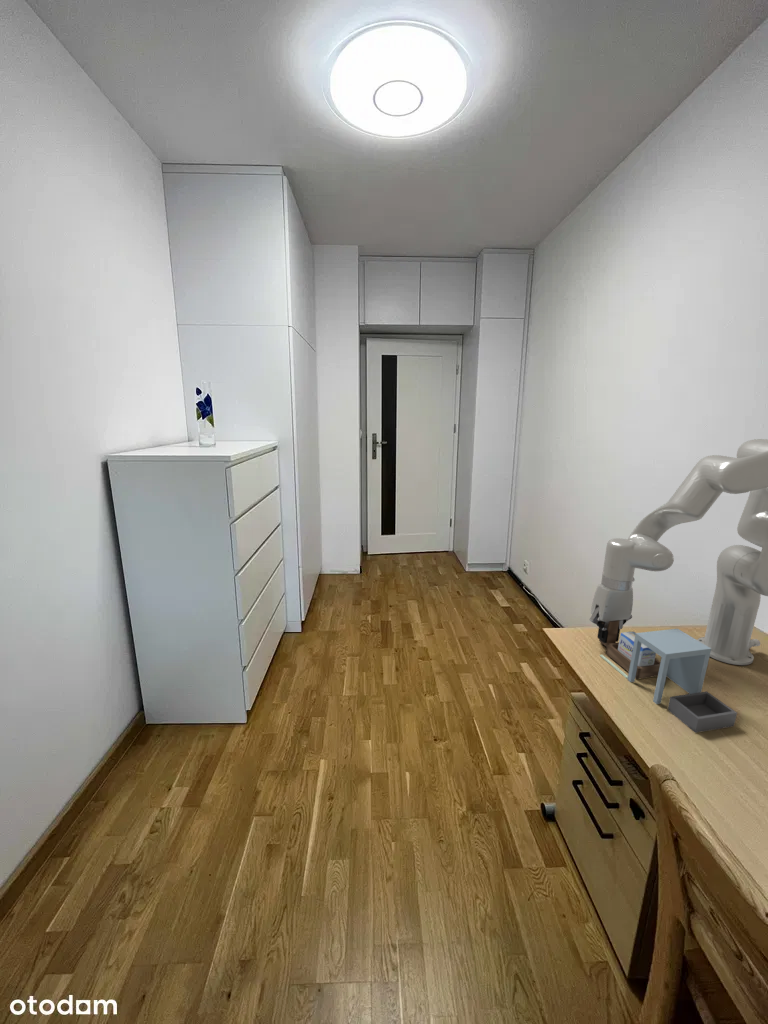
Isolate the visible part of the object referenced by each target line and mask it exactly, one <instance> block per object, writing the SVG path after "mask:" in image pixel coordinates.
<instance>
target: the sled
mask: <svg viewBox="0 0 768 1024" xmlns="http://www.w3.org/2000/svg"><path fill="white" fill-rule="evenodd" d="M603 623H604V622H602V624H603ZM618 626H619V620H616V621H609V624H608V627H607V631H608V638H607V643H603V642H602V641H601V640H600V639H598V641H599V642H600V643H601V644H602V645H603V646H605V654H606V655H607V656H608V657H610V658H611V660H613V661H615V662H616V663H617V664H618V665H619V666H620V667H621V668H623V669H624V670H625V671H627V672H628V673H629V668H630V663H631V660H630V659H628V658H627V657H626V656H625V655H623V654H622V653H621V652H619V651H618V645H619V641H618V642H616V638H617V632H618ZM660 663H661V660H659V659H658V658H656V657H655V661H654V665H648V666H641V667H639V666H637V671H636V676H635V680H640V679H646V678H653V677H655V678H656V677H658V673H659V668H660Z"/></svg>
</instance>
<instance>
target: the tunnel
mask: <svg viewBox="0 0 768 1024" xmlns="http://www.w3.org/2000/svg"><path fill="white" fill-rule="evenodd" d="M635 633H636V634H635V640H634V646H633V651H632V657H631V663H630V668H629V672H628V674H627V676H628V678H627V681H628V682H630V683H634V682H635V681H636V678H635V676H636V671H637V665H638V660H639V654H640V649H641V643H642V644H644V645H645V646H647V647H648V648H649V649H651V650H652V651H654V652H655V653H656V655H658V656H660V662H661V663H660V668H659V673H658V676H657V678H656V685H655V688H654V693H653V698H652V702H653V703H654V704H656V705H661V704H662V699H663V694H664V689H665V684H666V679H667V678H668V679H669V680H670V681H672V682H674V684H676V685H678V687H680V688H681V689H683V690H684V691H685V692H687V694H692V693H699V692H703V686H704V681H705V677H706V673H707V669H708V664H709V660H710V652H711V648H709V647H708V646H706V645H704V644H703V643H701V642H699V641H698V639H695V638H694V637H692V636H691V635H689V634H688V633H686V632H684V631H682V630H681V629H679V628H670V629H662V630H653V631H652V630H651V631H645V632H644V631H643V632H635Z"/></svg>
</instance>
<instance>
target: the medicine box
mask: <svg viewBox="0 0 768 1024" xmlns="http://www.w3.org/2000/svg"><path fill="white" fill-rule="evenodd" d="M636 633H637V632H635V631H625V632H620V634H619V640H618V642H619V645H618V651H619V652H621V653H622V654H623V655H625V656H626V657H627V658H628V659H630V660H631V657H632V651H633V646H634V640H635V634H636ZM656 656H657V653H655V652H654V651H652V650H651V649H649V648H648V647H647V646H645V645H644V644H642V643H641V649H640V654H639V660H638V665H637V666H639V667H641V666H648V665H654V661H655V658H656Z"/></svg>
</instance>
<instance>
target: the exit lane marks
mask: <svg viewBox="0 0 768 1024" xmlns="http://www.w3.org/2000/svg"><path fill="white" fill-rule="evenodd" d="M599 656H600V658H601V659H603V660H604V661H605V662H606V663H607V664H609V666H611V667H612V668H613V669H614V670H616V671H617V672H618V673H619V674H621V675H622V676H623V677H624V678H625V679H628V674H626V673H625V672H624V671H622V669H621V668H619V667H618V666H617V665H615V664H614V663H613V662H612V661H611V660H609V659H608V658H607V657H606V656H604V654H599Z"/></svg>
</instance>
